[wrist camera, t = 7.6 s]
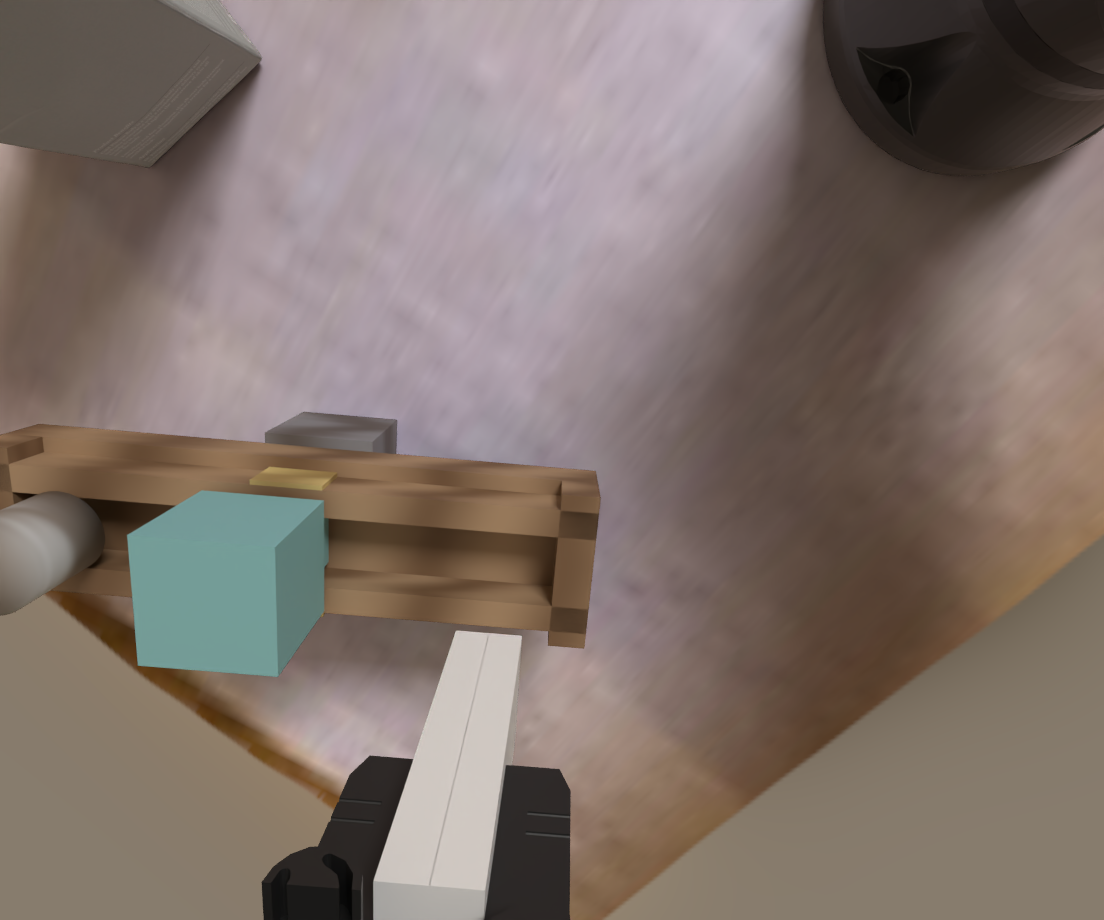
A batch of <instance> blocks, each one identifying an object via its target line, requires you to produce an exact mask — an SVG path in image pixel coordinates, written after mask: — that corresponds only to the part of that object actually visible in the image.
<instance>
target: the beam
mask: <svg viewBox="0 0 1104 920" xmlns="http://www.w3.org/2000/svg"><path fill="white" fill-rule="evenodd" d="M396 441H397V420H393V419H381V418H369V417H357V416H346V415H334V414H322V413H310V412H303V413H301V414H299V415H297V416H295V417H293V418H292V419H290V420H288V421H286V422H284V423H282V424H280V425H278V426H277V427H275V428H273V429H271V430H269V431H267V432H265V443H258V442H246V441H235V440H223V439H211V438H199V437H187V436H175V435H164V434H152V433H140V432H128V431H116V430H105V429H93V428H81V427H69V426H57V425H46V424H37V425H34V426H30V427H27V428H23V429H20V430H16V431H13V432H9V433H6V434H2V435H0V616H1V615H7V614H10V613H13V612H16V611H17V610H19V609H21V608H22V607H24V606H26V605H27V604H29V603H31V602H32V601H33V600H35V599H37V598H39V597H40V596H42V595H43V594H45V593H47V592H48V591H62V592H74V593H86V594H99V595H111V596H123V597H132V588H131V576H130V564H129V552H128V540H127V535H128V534H130V533H132V532H133V531H135V530H137V529H138V528H140V527H142V526H143V525H145V524H147V523H148V522H150V521H152V520H153V519H155V518H156V517H158V516H160V515H161V514H163V513H165V512H166V511H168V510H170V509H171V508H173V507H175V506H176V505H178V504H180V503H181V502H183V501H185V500H186V499H188V498H190V497H191V496H193V495H195V494H196V493H198V492H200V491H201V490H204V491H216V492H228V493H240V494H252V495H264V496H276V497H288V498H300V499H312V500H324V518H329V562H328V563H327V565H326V566H325V567H324V612H323V613H322V615H321V616H320V617H323V616H324V614H325V613H331V614H344V615H356V616H368V617H380V618H392V619H405V620H417V621H429V622H441V623H454V624H466V625H478V626H490V627H503V628H515V629H527V630H539V631H548V646H559V647H572V648H584V646H585V637H586V627H587V618H588V609H589V600H590V591H591V582H592V572H593V563H594V554H595V545H596V536H597V527H598V517H599V508H600V499H601V497H600V492H599V486H598V481H597V476H596V471H589V470H577V469H565V468H553V467H542V466H530V465H518V464H506V463H494V462H483V461H471V460H459V459H447V458H435V457H424V456H412V455H400V454H396Z"/></svg>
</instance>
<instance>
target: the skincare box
mask: <svg viewBox="0 0 1104 920" xmlns="http://www.w3.org/2000/svg"><path fill="white" fill-rule="evenodd" d="M261 60H262V57H261V55H260V53H259V52H258V50H257V49H256V48H255V47H254V45H253V44H252V43H251V41H250V40H249V39H248V37H247V36H246V35H245V33H244V32H243V31H242V30H241V28H240V27H239V26H238V24H237V23H236V22H235V20H234V19H233V18H232V16H231V15H230V14H229V13H228V11H227V10H226V9H225V7H224V6H223V5H222V3H221V2H220V1H219V0H0V143H3V144H9V145H15V146H20V147H26V148H33V149H39V150H45V151H51V152H57V153H63V154H69V155H76V156H82V157H87V158H93V159H99V160H106V161H112V162H118V163H125V164H131V165H137V166H143V167H146V168H149V167H151V166H152V165H153V164H154V163H155V162H156V161H157V160H158V159H159V158H160V157H161V156H162V155H163V154H164V153H166V152H167V151H168V150H169V149H170V148H171V147H172V146H173V145H174V144H175V143H176V142H177V141H178V140H179V139H180V138H181V137H182V136H183V135H184V134H185V133H186V132H187V131H188V130H189V129H190V128H191V127H193V126H194V125H195V124H196V123H197V122H198V121H199V120H200V119H201V118H202V117H203V116H204V115H205V114H206V113H207V112H208V111H209V110H210V109H212V108H213V107H214V106H215V105H216V104H217V103H218V102H219V101H220V100H221V99H222V98H223V97H224V96H225V95H226V94H227V93H228V92H229V91H230V90H231V89H232V88H233V87H235V86H236V85H237V84H238V83H239V82H240V81H241V80H242V79H243V78H244V77H245V76H246V75H247V74H248V73H249V72H250V71H251V70H252V69H253V68H254V67H255V66H256V65H257V64H258V63H259V62H260V61H261Z"/></svg>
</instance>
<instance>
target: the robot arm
mask: <svg viewBox="0 0 1104 920" xmlns="http://www.w3.org/2000/svg"><path fill="white" fill-rule="evenodd" d="M823 27H824V40H825V47H826V53H827V58H828V63H829V67H830V70H831V74H832V77H833V80H834V82H835V85H836V88H837V90H838V92H839V94H840V97H841V99H842V101H843V102H844V104H845V106H846V108H847V110H848V111H849V113H850V114H851V116H852V117H853V119H854V120H855V121H856V123H857V124H858V125H859V127H860V128H861V129H862V130H863V131H864V132H865V133H866V134H867V135H868V137H869V138H870V139H872V140H873V141H874V142H875V143H876V144H877V145H878V146H880V147H881V148H882V149H884V150H885V151H886V152H887V153H889V154H891V155H892V156H894V157H895V158H897V159H899V160H901V161H903V162H905V163H907V164H909V165H912V166H914V167H917V168H919V169H923V170H926V171H929V172H934V173H938V174H945V175H954V176H976V175H985V174H991V173H996V172H1001V171H1005V170H1010V169H1014V168H1018V167H1022V166H1026V165H1030V164H1033V163H1037V162H1040V161H1043V160H1046V159H1048V158H1051V157H1053V156H1055V155H1058V154H1060V153H1062V152H1064V151H1066V150H1069V149H1071V148H1072V147H1074V146H1076V145H1078V144H1080V143H1082V142H1083V141H1085V140H1087V139H1089V138H1090V137H1092V136H1093V135H1095V134H1096V133H1098V132H1099V131H1101V130H1102V129H1103V128H1104V0H824V8H823ZM521 645H522V636H519V635H507V634H494V633H481V632H469V631H456V632H455V635H454V638H453V641H452V644H451V647H450V650H449V653H448V656H447V659H446V662H445V665H444V668H443V671H442V675H441V678H440V681H439V684H438V687H437V690H436V693H435V696H434V699H433V702H432V705H431V708H430V711H429V714H428V717H427V720H426V723H425V726H424V729H423V732H422V735H421V738H420V741H419V744H418V747H417V750H416V753H415V756H414V759H404V758H392V757H380V756H369V757H368V758H367V759H366V760H365V761H364V762H363V763H362V764H361V765H360V766H359V767H357V768H356V769H355V770H354V771H353V772H352V773H351V774H350V776H349V778H348V780H347V782H346V785H345V787H344V789H343V791H342V794H341V796H340V799H339V802H338V803H337V805H336V807H335V809H334V812H333V814H332V816H331V821H330V822H329V823H328V825H327V827H326V829H325V832H324V834H323V836H322V838H321V841H320V843H319V845H318V847H308V848H306V849H303V850H300V851H298V852H295V853H293V854H290V855H289V856H287V857H286V858H285V859H283V860H282V861H280V862H279V863H278V864H277V865H275V866H274V867H273V868H272V869H271V871H270V872H269V873H268V875H267V876H266V877H265V878H264V880H263V881H262V896H263V913H264V920H570V915H569V904H570V789H569V787H568V785H567V783H566V781H565V779H564V777H563V775H562V773H561V771H560V769H550V768H538V767H525V766H513V765H512V762H513V754H514V746H515V737H516V722H517V707H518V691H519V676H520V660H521Z"/></svg>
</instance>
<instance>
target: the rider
mask: <svg viewBox="0 0 1104 920" xmlns="http://www.w3.org/2000/svg"><path fill="white" fill-rule="evenodd" d="M127 540H128V552H129V564H130V576H131V588H132V600H133V612H134V624H135V636H136V648H137V660H138V666H149V667H162V668H174V669H187V670H199V671H211V672H224V673H236V674H249V675H261V676H274V677H278V676H279V675H280V673H281V672H282V670H283V669H284V668H285V666H286V665H287V663H288V662H289V660H290V659H291V658H292V656H293V655H294V653H295V652H296V650H297V649H298V648H299V646H300V645H301V643H302V642H303V640H304V639H305V638H306V636H307V635H308V633H309V632H310V630H311V629H312V628H313V626H314V625H315V623H316V622H317V620H318V619H319V618H320V616H321V615H322V613H323V612H324V567H325V566H326V565H327V563H328V562H329V518H324V500H312V499H300V498H288V497H276V496H264V495H252V494H240V493H228V492H216V491H204V490H201V491H200V492H198V493H196V494H195V495H193V496H191V497H190V498H188V499H186V500H185V501H183V502H181V503H180V504H178V505H176V506H175V507H173V508H171V509H170V510H168V511H166V512H165V513H163V514H161V515H160V516H158V517H156V518H155V519H153V520H152V521H150V522H148V523H147V524H145V525H143V526H142V527H140V528H138V529H137V530H135V531H133V532H132V533H130V534H128V535H127Z"/></svg>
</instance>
